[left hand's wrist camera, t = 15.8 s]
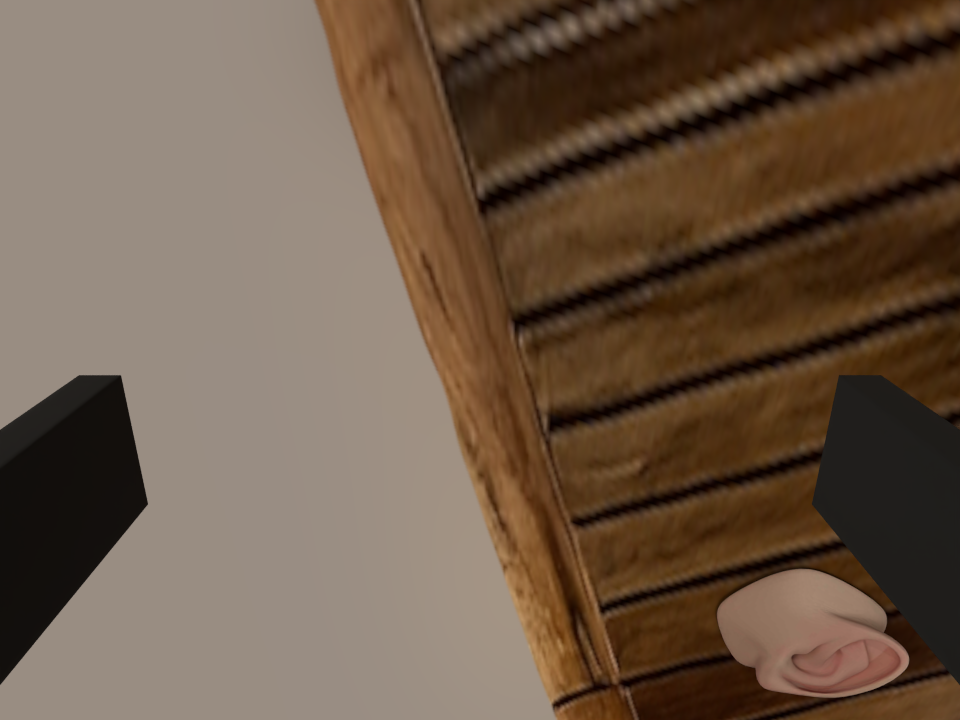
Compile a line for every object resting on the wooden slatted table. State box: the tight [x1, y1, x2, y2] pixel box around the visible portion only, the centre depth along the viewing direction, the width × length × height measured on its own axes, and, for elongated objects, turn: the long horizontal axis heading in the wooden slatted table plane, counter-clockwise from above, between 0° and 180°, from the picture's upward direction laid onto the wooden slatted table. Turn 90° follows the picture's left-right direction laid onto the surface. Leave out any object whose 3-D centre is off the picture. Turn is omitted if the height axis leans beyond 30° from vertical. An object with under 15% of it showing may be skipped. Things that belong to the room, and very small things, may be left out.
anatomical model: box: [717, 569, 909, 697], centre depth 54 cm, size 13×4×12 cm
